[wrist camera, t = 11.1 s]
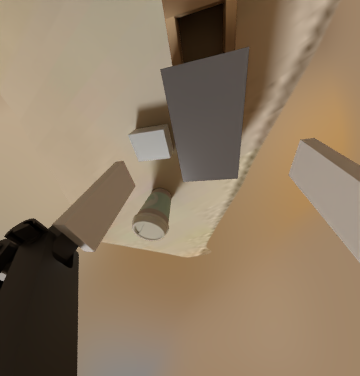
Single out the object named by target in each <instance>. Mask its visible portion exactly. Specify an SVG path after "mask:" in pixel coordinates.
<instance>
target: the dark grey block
mask: <svg viewBox="0 0 360 376" xmlns="http://www.w3.org/2000/svg"><path fill="white" fill-rule="evenodd" d="M248 56H249V47H246V48H242V49H238V50H235V51H231V52H227V53H223V54H219V55H215V56H211V57H207V58H203V59H199V60H195V61H191V62H187V63H183V64H179V65H176V66H172V67H168V68H164V69H160V70H161V75H162V80H163V85H164V90H165V95H166V99H167V104H168V109H169V114H170V119H171V124H172V129H173V134H174V139H175V144H176V149H177V154H178V158H179V163H180V168H181V173H182V178H183V182H189V181H205V180H221V179H238V170H239V158H240V147H241V135H242V124H243V113H244V101H245V90H246V79H247V67H248Z"/></svg>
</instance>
